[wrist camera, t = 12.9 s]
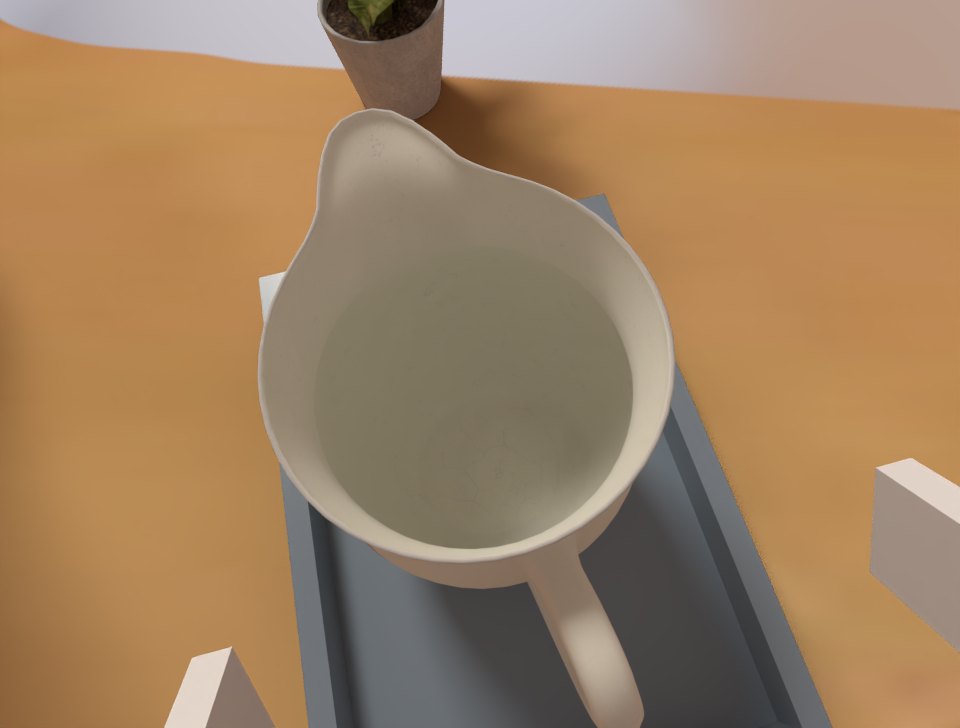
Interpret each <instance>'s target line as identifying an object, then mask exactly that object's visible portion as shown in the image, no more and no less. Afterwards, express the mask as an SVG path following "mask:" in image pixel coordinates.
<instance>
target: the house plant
mask: <svg viewBox="0 0 960 728" xmlns="http://www.w3.org/2000/svg"><path fill="white" fill-rule="evenodd" d="M317 11H318V17H319V19H320V22H321V24H322V26H323V28H324V30H325V31H326V33H327V35H328V37H329V39H330V41H331V43H332V45H333V47H334V49H335V50H336V52H337V54H338V56H339V58H340V60H341V62H342V64H343V66H344V68H345V70H346V72H347V73H348V75H349V77H350V79H351V81H352V83H353V85H354V87H355V89H356V91H357V92H358V94H359V96H360V98H361V100H362V102H363V104H364V105H365V107H366V108H367V109H371V108H375V109H383V110H391V111H394V112H396V113H398V114H400V115H402V116H404V117H406V118H409V119H411V120H414V119H417V118H420V117H421V116H423V115H424V114H426V113H428V112H429V111H430V110H431V109H432V108H433V107H434V106H435V104H436V103H437V101H438V99H439V96H440V91H441V70H442V46H443V22H444V0H318V3H317Z"/></svg>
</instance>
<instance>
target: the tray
mask: <svg viewBox="0 0 960 728" xmlns="http://www.w3.org/2000/svg"><path fill="white" fill-rule="evenodd" d="M576 201H577V202H579V203H580V204H582V205H583V206H585V207H586V208H588V209H589V210H591V211H592V212H594V213H595V214H597V215H598V216H599V217H600V218H601V219H603V220H604V221H605V222H606V223H607V224H609V225H610V226H611V227H612V228H613V229H614V230H616V231H617V233H618V234H619V235H620V236H621V237H622V238H623V236H622V234H621V232H620V229H619V227H618V225H617V222H616V220H615V218H614V215H613V213H612V210H611V208H610V206H609V203H608V201H607V199H606V196H605V194H601V195H597V196H593V197H589V198H585V199H581V200H576ZM284 274H285V272H282V273H278V274H274V275H270V276H265V277H261V278H259V283H260V292H261V301H262V310H263V319H264V323H265V320H266V317H267V313H268V310H269V307H270V304H271V301H272V299H273V297H274V295H275V292H276V290H277V288H278V286H279V284H280V281H281V279H282V278H283V276H284ZM279 463H280V461H279ZM280 472H281V481H282V490H283V499H284V508H285V517H286V526H287V535H288V544H289V553H290V562H291V571H292V580H293V589H294V598H295V607H296V616H297V625H298V634H299V643H300V652H301V661H302V670H303V679H304V688H305V697H306V706H307V715H308V724H309V728H597V726H596V725H595V723H594V722H593V720H592V719H591V717H590V715H589V713H588V712H587V710H586V708H585V706H584V704H583V702H582V700H581V698H580V696H579V694H578V692H577V690H576V688H575V685H574V683H573V681H572V679H571V677H570V675H569V673H568V671H567V668H566V666H565V664H564V662H563V660H562V658H561V655H560V653H559V651H558V649H557V647H556V645H555V642H554V640H553V638H552V636H551V634H550V631H549V629H548V627H547V625H546V622H545V620H544V618H543V616H542V614H541V611H540V609H539V607H538V605H537V602H536V600H535V598H534V596H533V593H532V591H531V589H530V587H529V585H528V582H524V583H520V584H516V585H511V586H507V587H498V588H487V589H476V588H460V587H455V586H450V585H444V584H439V583H435V582H432V581H429V580H426V579H423V578H421V577H418V576H415V575H413V574H411V573H409V572H407V571H405V570H403V569H401V568H399V567H397V566H395V565H394V564H392V563H391V562H389V561H388V560H387V559H385V558H384V557H382V556H381V555H380V554H378V553H377V552H375V551H374V550H373V549H372V548H371V547H370V546H368V545H367V544H366V543H365V542H363V541H361V540H359V539H357V538H355V537H353V536H351V535H349V534H347V533H346V532H345V531H343V530H342V529H340V528H339V527H338V526H336V525H335V524H333V523H332V522H331V521H329V520H328V519H326V518H325V517H324V516H323V515H322V514H321V513H320V512H319V511H318V510H317V509H315V508H314V507H313V506H312V505H311V504H310V503H309V502H308V501H307V500H306V499H305V498H304V497H303V495H302V494H301V493H300V491H299V490H298V489H297V488H296V486H295V485H294V484H293V482H292V481H291V480H290V478H289V477H288V476H287V474H286V472H285V470H284V469H283V467H282V465H281V463H280ZM578 556H579V560H580V563H581V566H582V568H583V570H584V572H585V574H586V576H587V578H588V580H589V582H590V583H591V585H592V587H593V589H594V591H595V593H596V595H597V597H598V599H599V600H600V602H601V604H602V606H603V608H604V610H605V612H606V614H607V616H608V618H609V621H610V623H611V625H612V627H613V629H614V631H615V633H616V635H617V637H618V640H619V642H620V644H621V646H622V649H623V651H624V653H625V655H626V658H627V660H628V663H629V666H630V668H631V671H632V673H633V676H634V679H635V682H636V685H637V688H638V691H639V694H640V697H641V700H642V705H643V709H644V718H643V721H642V723H641V726H640V728H833V727H832V725H831V723H830V720H829V718H828V716H827V713H826V711H825V709H824V706H823V704H822V702H821V699H820V697H819V695H818V692H817V690H816V688H815V685H814V683H813V680H812V678H811V676H810V673H809V671H808V669H807V666H806V664H805V662H804V659H803V657H802V655H801V652H800V650H799V648H798V645H797V643H796V641H795V638H794V636H793V634H792V631H791V629H790V627H789V624H788V622H787V620H786V617H785V615H784V613H783V610H782V608H781V606H780V603H779V601H778V599H777V596H776V594H775V592H774V589H773V587H772V585H771V582H770V580H769V578H768V575H767V573H766V571H765V568H764V566H763V564H762V561H761V559H760V557H759V554H758V552H757V550H756V547H755V545H754V543H753V540H752V538H751V536H750V533H749V531H748V529H747V526H746V524H745V521H744V519H743V517H742V514H741V512H740V510H739V507H738V505H737V503H736V500H735V498H734V496H733V493H732V491H731V489H730V486H729V484H728V482H727V479H726V477H725V475H724V472H723V470H722V468H721V465H720V463H719V461H718V458H717V456H716V454H715V451H714V449H713V447H712V444H711V442H710V440H709V437H708V435H707V433H706V430H705V428H704V426H703V423H702V421H701V419H700V416H699V414H698V412H697V409H696V407H695V405H694V402H693V400H692V398H691V395H690V393H689V391H688V388H687V386H686V384H685V381H684V379H683V377H682V374H681V372H680V369H679V367H678V365H677V362H676V365H675V383H674V391H673V396H672V401H671V406H670V411H669V415H668V418H667V421H666V423H665V426H664V429H663V432H662V434H661V437H660V440H659V442H658V444H657V445H656V447H655V449H654V451H653V453H652V455H651V457H650V458H649V460H648V462H647V464H646V465H645V467H644V468H643V470H642V471H641V472H640V474H639V475H638V476H637V478H636V479H635V480H634V482H633V483H632V486H631V488H630V490H629V492H628V494H627V496H626V498H625V500H624V502H623V504H622V505H621V507H620V509H619V511H618V513H617V514H616V516H615V517H614V518H613V520H612V521H611V522H610V524H609V525H608V526H607V528H606V529H605V530H604V532H603V533H602V534H601V535H600V536H599V537H598V538H597V539H596V540H595V541H594V542H593V543H592V544H591V545H590V546H589V547H588V548H586V549H585V550H584V551H582V552H581V553H580V554H579V555H578Z"/></svg>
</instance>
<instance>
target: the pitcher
mask: <svg viewBox="0 0 960 728" xmlns="http://www.w3.org/2000/svg"><path fill="white" fill-rule="evenodd" d="M675 365H676V360H675V349H674V338H673V333H672V329H671V325H670V320H669V316H668V312H667V310H666V307H665V304H664V302H663V299H662V297H661V294H660V292H659V289H658V287H657V286H656V284H655V282H654V280H653V278H652V277H651V275H650V273H649V271H648V269H647V268H646V266H645V265H644V264H643V262H642V261H641V260H640V258H639V257H638V255H637V254H636V253H635V251H634V250H633V249H632V247H631V246H630V245H629V244H628V243H627V242H626V241H625V240H624V239H623V238H622V237H621V236H620V235H619V234H618V233H617V231H616V230H614V229H613V228H612V227H611V226H610V225H609V224H607V223H606V222H605V221H604V220H603V219H601V218H600V217H599V216H598V215H597V214H595V213H594V212H592V211H591V210H589V209H588V208H586V207H585V206H583V205H582V204H580V203H579V202H577V201H576V200H574V199H572V198H570V197H568V196H566V195H564V194H562V193H560V192H558V191H556V190H554V189H552V188H549V187H547V186H544V185H541V184H539V183H536V182H534V181H531V180H527V179H524V178H520V177H517V176H513V175H510V174H506V173H502V172H499V171H495V170H492V169H488V168H486V167H483V166H480V165H478V164H475V163H473V162H471V161H469V160H467V159H465V158H463V157H461V156H459V155H457V154H456V153H455V152H454V151H453V150H452V149H451V148H449V147H448V146H447V145H446V144H445V143H443V142H442V141H441V140H440V139H438V138H437V137H436V136H435V135H433V134H432V133H431V132H429V131H428V130H426V129H425V128H423V127H422V126H420V125H419V124H417V123H416V122H414V121H413V120H411V119H409V118H406V117H404V116H402V115H400V114H398V113H396V112H394V111H391V110H383V109H375V108H371V109H367V110H363V111H358V112H355V113H353V114H351V115H349V116H347V117H345V118H343V119H341V120H340V121H339V122H338V124H337V125H336V126H335V127H334V128H333V129H332V130H331V132H330V133H329V135H328V137H327V140H326V143H325V146H324V149H323V151H322V154H321V160H320V166H319V172H318V181H317V195H316V212H315V215H314V218H313V221H312V224H311V227H310V229H309V231H308V233H307V236H306V238H305V240H304V242H303V243H302V245H301V247H300V249H299V250H298V252H297V254H296V255H295V257H294V259H293V260H292V262H291V264H290V266H289V267H288V269H287V271H286V272H285V274H284V276H283V278H282V279H281V281H280V284H279V286H278V288H277V290H276V292H275V295H274V297H273V299H272V301H271V304H270V307H269V310H268V313H267V317H266V320H265V323H264V326H263V331H262V337H261V343H260V348H259V360H258V387H259V399H260V406H261V410H262V415H263V419H264V424H265V428H266V431H267V434H268V436H269V439H270V442H271V444H272V447H273V450H274V452H275V454H276V456H277V458H278V460H279V461H280V463H281V465H282V467H283V469H284V470H285V472H286V474H287V476H288V477H289V478H290V480H291V481H292V482H293V484H294V485H295V486H296V488H297V489H298V490H299V491H300V493H301V494H302V495H303V497H304V498H305V499H306V500H307V501H308V502H309V503H310V504H311V505H312V506H313V507H314V508H315V509H317V510H318V511H319V512H320V513H321V514H322V515H323V516H324V517H325V518H326V519H328V520H329V521H331V522H332V523H333V524H335V525H336V526H338V527H339V528H340V529H342V530H343V531H345V532H346V533H347V534H349V535H351V536H353V537H355V538H357V539H359V540H361V541H363V542H365V543H366V544H367V545H368V546H370V547H371V548H372V549H373V550H374V551H375V552H377V553H378V554H380V555H381V556H382V557H384V558H385V559H387V560H388V561H389V562H391V563H392V564H394V565H395V566H397V567H399V568H401V569H403V570H405V571H407V572H409V573H411V574H413V575H415V576H418V577H421V578H423V579H426V580H429V581H432V582H435V583H439V584H444V585H450V586H455V587H460V588H476V589H487V588H498V587H507V586H511V585H516V584H520V583H524V582H528V585H529V587H530V589H531V591H532V593H533V596H534V598H535V600H536V602H537V605H538V607H539V609H540V611H541V614H542V616H543V618H544V620H545V622H546V625H547V627H548V629H549V631H550V634H551V636H552V638H553V640H554V642H555V645H556V647H557V649H558V651H559V653H560V655H561V658H562V660H563V662H564V664H565V666H566V668H567V671H568V673H569V675H570V677H571V679H572V681H573V683H574V685H575V688H576V690H577V692H578V694H579V696H580V698H581V700H582V702H583V704H584V706H585V708H586V710H587V712H588V713H589V715H590V717H591V719H592V720H593V722H594V723H595V725H596V726H597V728H640V726H641V723H642V721H643V718H644V709H643V705H642V700H641V697H640V694H639V691H638V688H637V685H636V682H635V679H634V676H633V673H632V671H631V668H630V666H629V663H628V660H627V658H626V655H625V653H624V651H623V649H622V646H621V644H620V642H619V640H618V637H617V635H616V633H615V631H614V629H613V627H612V625H611V623H610V621H609V618H608V616H607V614H606V612H605V610H604V608H603V606H602V604H601V602H600V600H599V599H598V597H597V595H596V593H595V591H594V589H593V587H592V585H591V583H590V582H589V580H588V578H587V576H586V574H585V572H584V570H583V568H582V566H581V563H580V560H579V556H578V555H579V554H580V553H581V552H582V551H584V550H585V549H586V548H588V547H589V546H590V545H591V544H592V543H593V542H594V541H595V540H596V539H597V538H598V537H599V536H600V535H601V534H602V533H603V532H604V530H605V529H606V528H607V526H608V525H609V524H610V522H611V521H612V520H613V518H614V517H615V516H616V514H617V513H618V511H619V509H620V507H621V505H622V504H623V502H624V500H625V498H626V496H627V494H628V492H629V490H630V488H631V486H632V483H633V482H634V480H635V479H636V478H637V476H638V475H639V474H640V472H641V471H642V470H643V468H644V467H645V465H646V464H647V462H648V460H649V458H650V457H651V455H652V453H653V451H654V449H655V447H656V445H657V444H658V442H659V440H660V437H661V434H662V432H663V429H664V426H665V423H666V421H667V418H668V415H669V411H670V406H671V401H672V396H673V391H674V383H675Z"/></svg>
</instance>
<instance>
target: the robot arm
mask: <svg viewBox="0 0 960 728" xmlns="http://www.w3.org/2000/svg"><path fill="white" fill-rule="evenodd" d="M870 573H871V574H872V575H873V576H875V577H876V578H877V579H878V580H879V581H880V582H881V583H882V584H883V585H885V586H886V587H887V588H888V589H889V590H890V591H891V592H892V593H893V594H895V595H896V596H897V597H898V598H899V599H900V600H901V601H902V602H904V603H905V604H906V605H907V606H908V607H909V608H910V609H911V610H912V611H914V612H915V613H916V614H917V615H918V616H919V617H920V618H921V619H922V620H924V621H925V622H926V623H927V624H928V625H929V626H930V627H931V628H932V629H934V630H935V631H936V632H937V633H938V634H939V635H940V636H941V637H942V638H944V639H945V640H946V641H947V642H948V643H949V644H950V645H951V646H953V647H954V648H955V649H956V650H957V651H958V652H959V653H960V487H958V486H957V485H955V484H953V483H952V482H950V481H948V480H947V479H945V478H944V477H942V476H940V475H939V474H937V473H935V472H934V471H932V470H930V469H929V468H927V467H925V466H924V465H922V464H920V463H919V462H917V461H915V460H914V459H912V458H909V459H905V460H902V461H898V462H895V463H891V464H887V465H884V466H880V467H877V468H876V471H875V488H874V506H873V523H872V540H871V558H870ZM164 728H275V726H274V724H273V722H272V720H271V718H270V717H269V715H268V713H267V711H266V709H265V707H264V705H263V704H262V702H261V700H260V698H259V696H258V694H257V692H256V690H255V689H254V687H253V685H252V683H251V681H250V679H249V677H248V675H247V674H246V672H245V670H244V668H243V666H242V664H241V662H240V661H239V659H238V657H237V655H236V653H235V651H234V649H233V647H229V648H226V649H222V650H218V651H215V652H211V653H208V654H204V655H200V656H197V657H193V658H192V660H191V662H190V665H189V667H188V670H187V672H186V675H185V677H184V680H183V682H182V685H181V687H180V690H179V692H178V695H177V697H176V700H175V702H174V705H173V707H172V710H171V712H170V715H169V717H168V720H167V722H166V725H165V727H164Z"/></svg>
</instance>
